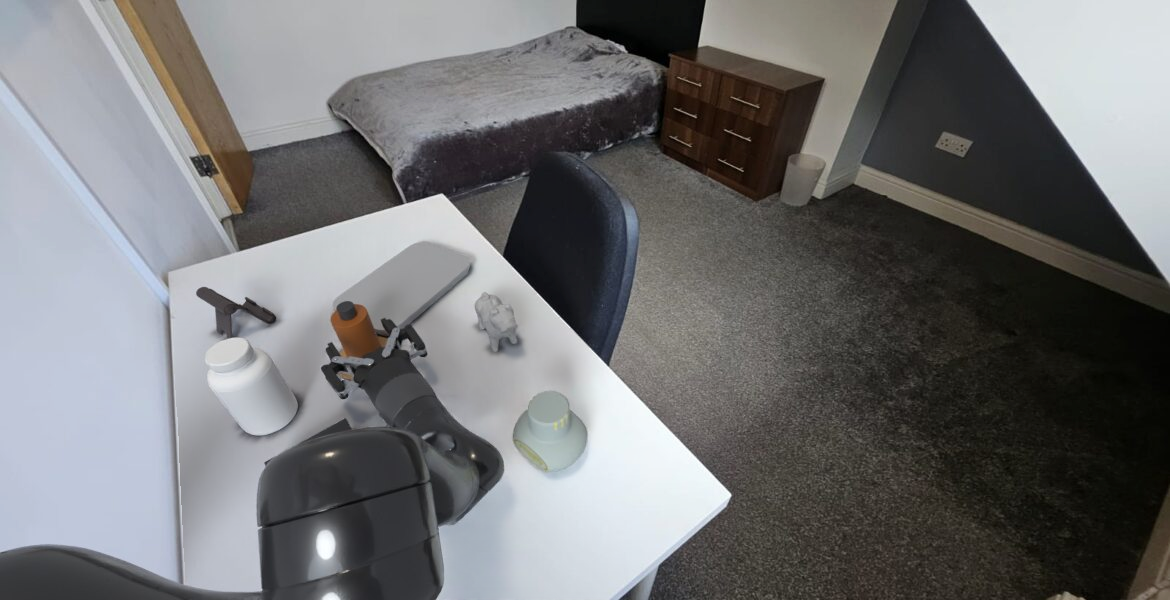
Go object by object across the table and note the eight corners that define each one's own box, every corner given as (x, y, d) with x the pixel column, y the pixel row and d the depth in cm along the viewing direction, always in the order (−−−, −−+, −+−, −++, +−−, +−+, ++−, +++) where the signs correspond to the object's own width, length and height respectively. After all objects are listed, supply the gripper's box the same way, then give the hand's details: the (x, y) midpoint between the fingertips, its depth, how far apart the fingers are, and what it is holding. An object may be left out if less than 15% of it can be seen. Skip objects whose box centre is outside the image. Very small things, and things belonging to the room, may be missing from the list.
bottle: (356, 373, 80) (333, 323, 72) (344, 354, 83) (320, 304, 75) (388, 358, 83) (369, 307, 75) (375, 340, 86) (355, 290, 78)
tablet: (328, 314, 91) (324, 305, 90) (421, 247, 109) (419, 238, 107) (391, 343, 86) (387, 334, 85) (478, 267, 103) (476, 259, 102)
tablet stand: (279, 320, 90) (259, 287, 84) (238, 346, 85) (214, 312, 79) (251, 304, 93) (231, 271, 88) (211, 328, 88) (186, 294, 82)
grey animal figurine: (501, 367, 82) (495, 323, 75) (474, 323, 90) (466, 280, 83) (528, 355, 85) (525, 312, 77) (499, 313, 93) (493, 270, 85)
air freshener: (505, 444, 71) (499, 404, 64) (543, 409, 76) (540, 368, 69) (559, 489, 66) (557, 450, 59) (596, 448, 71) (598, 409, 64)
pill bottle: (304, 420, 73) (262, 356, 63) (245, 446, 70) (192, 382, 60) (295, 387, 78) (255, 322, 68) (239, 409, 75) (189, 344, 65)
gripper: (442, 353, 68) (394, 297, 77) (344, 407, 61) (303, 338, 70) (451, 386, 73) (404, 330, 82) (361, 439, 66) (320, 371, 75)
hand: (358, 334), depth 76 cm, fingers open, 8 cm apart
